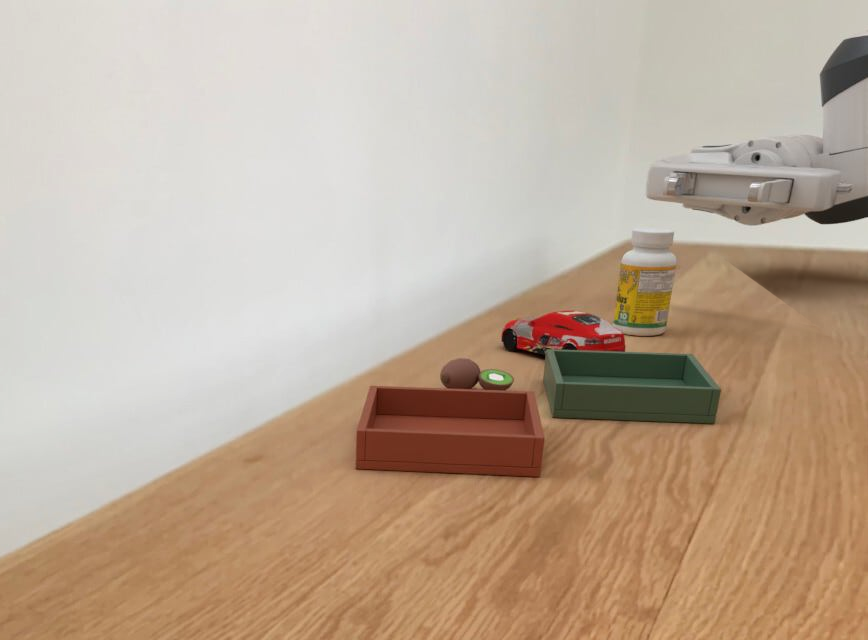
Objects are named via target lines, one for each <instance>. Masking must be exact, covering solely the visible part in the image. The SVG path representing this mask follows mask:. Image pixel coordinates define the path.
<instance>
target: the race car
mask: <svg viewBox="0 0 868 640" xmlns="http://www.w3.org/2000/svg"><path fill="white" fill-rule="evenodd" d="M501 343H502V344H503V346H504V347H503V348H505V350H507V351H510V352H513V351H517V350H522V351H527V352H531V353H536V354H538V355H543V356H546V350H547V349H553V350H554V349H556V350H586V351H617V352H626V348H627V346H626V338H625V334H623V332H622V331H620V330H619V329H617V328H615V327H613V324H611V323H610V322H608V321H607V320H605V319H603V318H601V317H599V316H597V315H594V314H591V313H589V312H585V311H580V310H570V309H569V310H559V311H552V312H548V313H545V314H543V315H541V316H539V317H538V316H537V317H535V316H534V317H523V318H516V319H513V320H510V321H507V323H505V325H504V326H503V328H502V330H501Z"/></svg>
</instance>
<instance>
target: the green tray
mask: <svg viewBox="0 0 868 640" xmlns="http://www.w3.org/2000/svg"><path fill="white" fill-rule="evenodd" d="M542 381H543V385H544V389H545V394H546V397H547V401H548V404H549V405H548V406H549V408H550V412H551V417H552V418H555V419H557V418H558V419H582V420H583V419H584V420H607V421H630V422H631V421H632V422H633V421H635V422H660V423H684V424H687V423H688V424H708V425H711V424H713V425H714V424H715V423H716V418H717V415H718V408H719V402H720V399H721V394H722V393H721V392H722V389H721V387H720V386H719V384H718V383H717V382H716V381H715V380H714V378H712V376H711V375H710V374H709V372H708V371H707V370H706V368H704V366H703V365H702V364H701V362H700V361H699V360H698V359H697V358H696V356H695V355H694V354H693V353H672V352H668V353H667V352H645V351H644V352H643V351H642V352H641V351H625V352H617V351H586V350H556V349H554V350H553V349H547V350H546V355H545V358H544V367H543V377H542Z"/></svg>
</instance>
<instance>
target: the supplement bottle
mask: <svg viewBox="0 0 868 640" xmlns="http://www.w3.org/2000/svg"><path fill="white" fill-rule="evenodd" d="M674 236H675V230H673V229H670V228H663V227H635V228H633V229H632V232H631V236H630V237H631V238H630V242H631V245H632V249H631V250H628V251H627V252H625V253H624V255H623V256H622V258H621V262H620V268H619V276H618V283H617V291H616V299H615V304H614V312H613V320H612V326H613V327H615V328H617V329H619V330H620V331H622V332H623V334H624V335H628V336H639V337H652V336H653V337H654V336H659V335H662V334H663V333H665V331H666V330H667V325H668V318H669V312H670V305H671V300H672V292H673V287H674V281H675V276H676V269H677V257H676V255H675V254H674V253H673V252H671V251H669V250H670V247H672V246H673V244H674Z"/></svg>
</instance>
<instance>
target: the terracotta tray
mask: <svg viewBox="0 0 868 640" xmlns="http://www.w3.org/2000/svg"><path fill="white" fill-rule="evenodd" d="M541 420H542V419H541V416H540V411H539V407H538V403H537V397H536V393H535V391H530V390H529V391H525V390H505V391H503V390H484V389H476V388H475V389H473V388H471V389H449V388H446V387H444V388H443V387H416V386H393V385H390V386H389V385H369V388H368V392H367V396H366V399H365V401H364V405H363V408H362V412H361V415H360V418H359V421H358V425H357V428H356V438H355V441H356V442H355V469H356V470H376V471H395V472H396V471H398V472H400V471H401V472H420V473H421V472H422V473H440V474H441V473H442V474H464V475H465V474H466V475H486V476H487V475H489V476H508V477H509V476H511V477H512V476H513V477H533V478H534V477H535V478H536V477H537V478H540V477H541V474H542V473H541V472H542V465H543V455H544V447H545V434H544V430H543V425H542V421H541Z"/></svg>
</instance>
